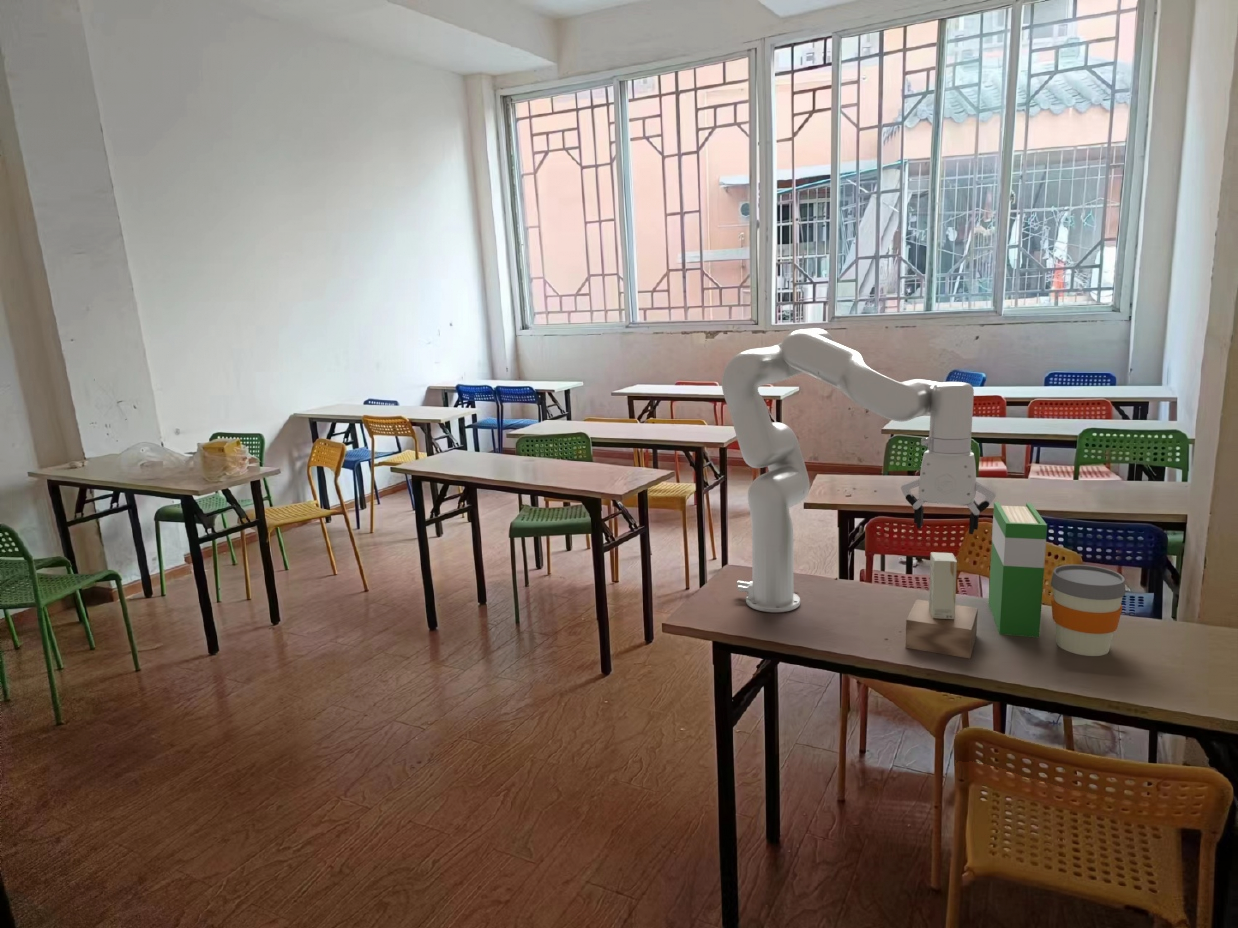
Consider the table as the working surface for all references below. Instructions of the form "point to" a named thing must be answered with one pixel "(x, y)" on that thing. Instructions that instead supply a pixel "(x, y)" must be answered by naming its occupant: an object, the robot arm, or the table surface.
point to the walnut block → (941, 630)
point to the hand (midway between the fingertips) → (945, 529)
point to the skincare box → (942, 585)
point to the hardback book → (1017, 569)
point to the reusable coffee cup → (1086, 607)
